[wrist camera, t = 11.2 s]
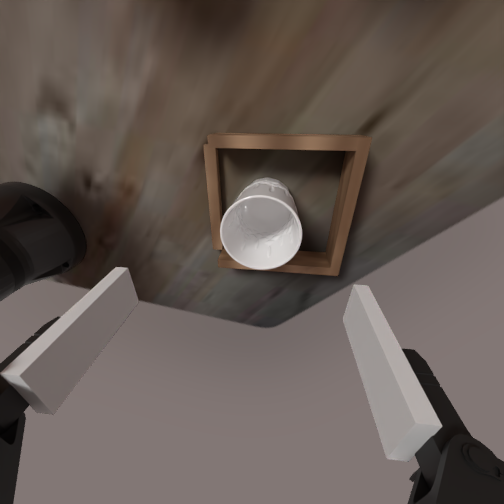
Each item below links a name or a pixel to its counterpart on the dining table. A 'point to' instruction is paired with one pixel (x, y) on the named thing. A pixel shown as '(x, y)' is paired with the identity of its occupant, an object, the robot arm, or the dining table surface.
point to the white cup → (262, 226)
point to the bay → (344, 203)
